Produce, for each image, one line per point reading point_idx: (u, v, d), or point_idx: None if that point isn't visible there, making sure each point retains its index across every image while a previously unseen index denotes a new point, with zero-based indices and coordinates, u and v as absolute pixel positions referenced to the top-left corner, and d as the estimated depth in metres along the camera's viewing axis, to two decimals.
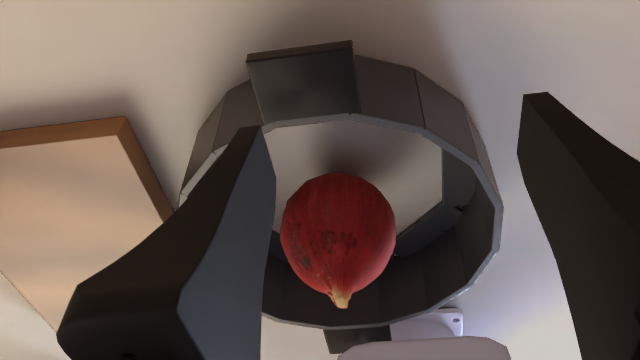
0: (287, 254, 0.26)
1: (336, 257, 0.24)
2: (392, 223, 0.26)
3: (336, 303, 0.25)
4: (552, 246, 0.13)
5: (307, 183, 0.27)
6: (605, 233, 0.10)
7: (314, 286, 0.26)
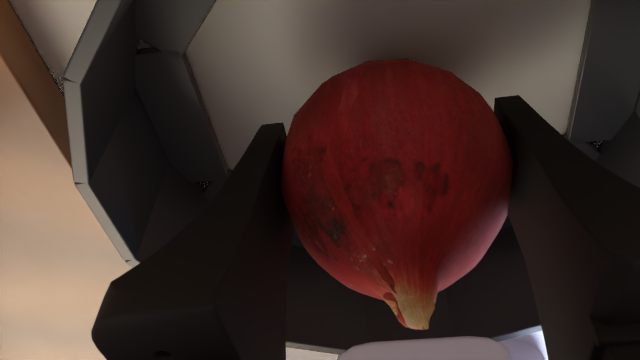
0: (295, 217, 0.13)
1: (406, 217, 0.11)
2: (509, 153, 0.13)
3: (404, 319, 0.11)
4: (522, 248, 0.14)
5: (334, 77, 0.14)
6: (565, 236, 0.10)
7: (352, 282, 0.12)
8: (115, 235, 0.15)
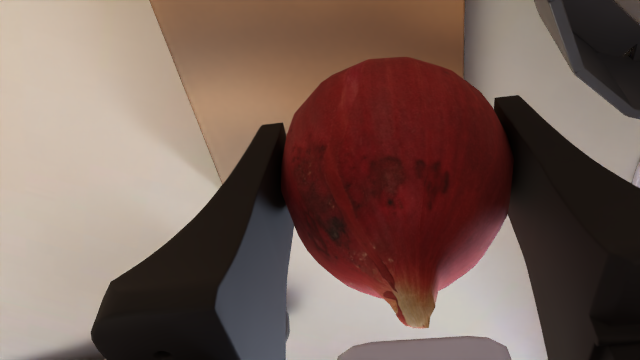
0: (295, 215, 0.13)
1: (406, 216, 0.11)
2: (510, 151, 0.13)
3: (405, 317, 0.11)
4: (522, 248, 0.14)
5: (334, 75, 0.14)
6: (564, 236, 0.10)
7: (352, 280, 0.12)
8: None
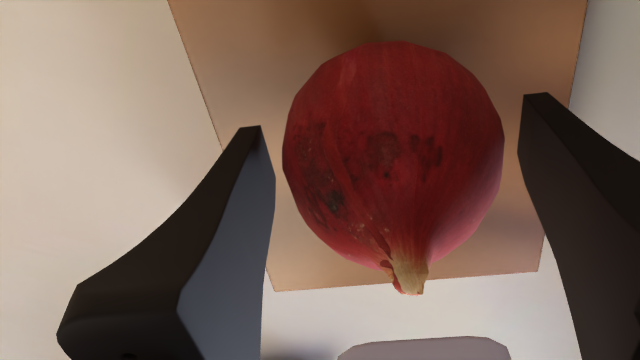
0: (296, 191, 0.14)
1: (402, 187, 0.12)
2: (501, 130, 0.13)
3: (400, 284, 0.12)
4: (552, 246, 0.13)
5: (333, 58, 0.14)
6: (605, 233, 0.10)
7: (350, 252, 0.13)
8: None
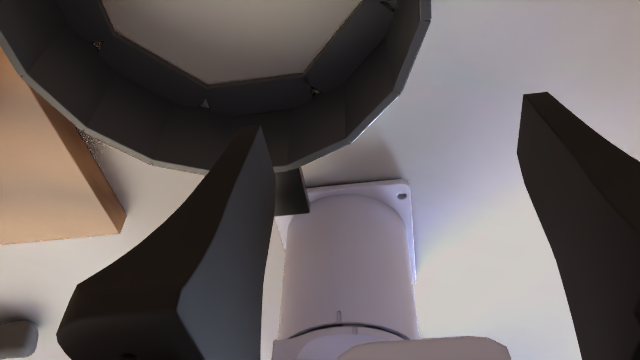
0: None
1: None
2: None
3: None
4: (552, 246, 0.13)
5: None
6: (605, 233, 0.10)
7: None
8: (8, 50, 0.20)
